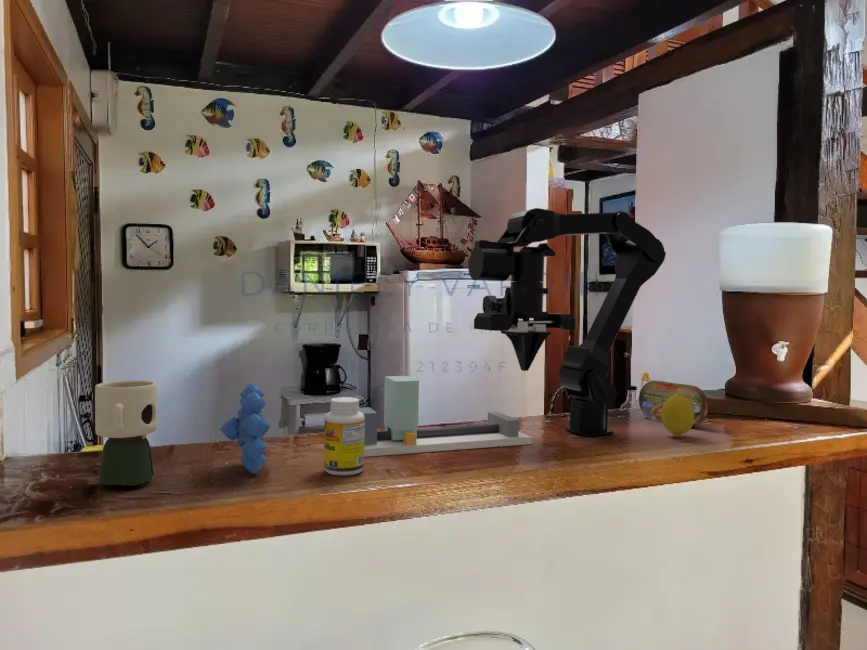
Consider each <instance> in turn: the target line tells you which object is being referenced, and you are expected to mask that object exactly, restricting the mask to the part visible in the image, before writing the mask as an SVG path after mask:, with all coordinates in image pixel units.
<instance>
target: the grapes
mask: <svg viewBox="0 0 867 650" xmlns="http://www.w3.org/2000/svg"><path fill="white" fill-rule="evenodd" d="M239 396H240V397H241V398H240V400H239V402H240V405H241V408H240V409H238V411H237V415H236V416H237V417H235V416H232V417H230V418H228V419H227V420H226V421H225V422H224V423H223V425H221V428H219V429H220V431H221V432H222V434H223V435H224V436H225V437H226V438H227V439H228V440H230V441H235V440H237V446H239V448H240V450H241V451H242V452H243V453H242V454H241V456H240V458H239V459H240V463H241V465H242V466H243V467H244V468H245V470H246V471H247V472H249V473H251V474H255V473H257V472H259V471H260V470H261V468H262V467H264V464H265V463H266V461H267V459H266V458H265V455H264V453H265V451H266V450H267V449H268V447H267V445H266V443H265V442H264V439H263V437H264V436H265V435H266V434H267V433H268V431H269V430H270V428H271V425H270V424H269V423H268V421H267V420H266V419H265V418H264V417H263V415H262V413H263V411H262V410H263V409H264V407H265V406H266V405H267V403H266V401H265V400H264V398H263V397H264V396H265V392H264V391H263V390H262V389H261V387H260V386H259V385H257V384H256V383H253V382H252V383H248V385H246V386H245V388H244V389H243V390H242V391H241V393H240V394H239Z"/></svg>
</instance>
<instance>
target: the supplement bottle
mask: <svg viewBox="0 0 867 650" xmlns="http://www.w3.org/2000/svg"><path fill="white" fill-rule="evenodd" d="M329 406H330V411H329V412H327V413H326V414H325V416H324V455H323V457H324V459H323V460H324V462H323V465H324V466H323V467H324V470H325V472H326V473H328V474H330V475H331V476H332V475H333V476H341V477H342V476H343V477H344V476H345V477H347V476H354V475H357V474H360V473H361V472H362V471H363V470H364V468H365V457H364V432H365V416H364V414H363V413H361V412H359V408H360V399H359V398H355V397H348V396H347V397H346V396H345V397H344V396H343V397H341V396H340V397H333V398H331V399H330V405H329Z"/></svg>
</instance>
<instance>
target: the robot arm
mask: <svg viewBox="0 0 867 650" xmlns="http://www.w3.org/2000/svg"><path fill="white" fill-rule="evenodd" d="M601 234H603V235H604V236H605V237H606V239H607V242H608V245H609V248H610V249H611V251H612V252H613V253H614V254H615V255H616V258H615V262H614V269H615V271H614V272H615V277H614V280H613V281H612V284H611V286H610V287H609V290H608V292H607V293H606V296H605V298H604V300H603V302H602V304H601V306H600V308H599V310H598V313H597V314H596V316H595V319H594V320H593V322H592V324H591V326H590V328H589V331H588V332H587V334H586V336H585V338H584V341H583V342H582V343H580V344H579V345H578V346H574V345H569V346H568V347H567V349H566V351H565V353H564V357H563V358H562V359H561V361H560V362H559V363H558V365H559V366H560V368H559V371H558V377H559V381H560V383H561V385H562V386H563V388H564V391H565V394H566V396H567V397H570V398H572V399H571V407H570V408H569V426H565V427H564V430H565V431H568V432H571V433H575V434H579V435H581V436H585V437H596V436H604V435H611V434H614V430H612V429H608V421H609V419H608V417H609V404H610V403H615V402H616V399H617V396H618V389H616V388H615V386H614V385H613V384H612V382H610V380H609V379H608V378H607V377H608V374H609V371H610V357H609V355H610V351H611V349H612V346H613V344H614V342H615V340H616V338H617V336H618V334H619V331H620V330H621V328H622V325H623V323H624V322H625V320H626V318H627V315H628V313H629V311H630V309H631V307H632V305H633V303H634V301H635V299H636V296H637V295H638V292H639V290H640V289H641V288H642V286H643V285H644V284H645V283H647V281H649V280H650V279H651V278H652V277H653V276H655V275H656V274H657V272H658V271H659V269H660V267H661V266H662V265H663V263H664V262H665V259H666V257H667V256H666V251H665V247H664V244H663V243H662V241H661V240H660V239H659V238H657V237H656V236H655V235H654V234H653V232H651V230H649V229H647V228H645V226H643V225H641V224H639V223H638V222H637V221H635V220H634V219H633V218H632V217H631V216H630V214H628V212H625V211H622V210H618V211H613V212H595V213H594V212H593V213H591V212H590V213H566V214H565V213H560V212H557V211H555V210H551V209H550V210H549V209H544V208H538V207H536V208H535V207H534V208H531V209H527V210H521V211H519V212H514V213H512V214H511V216H510V217H509V219H508V221H507V226H506V229H504V232H503V233H501V236H499V238H498V240H497V241H490V240H485V239H478V240H475V241H474V247H473V249H472V251H471V253H470V255H469V259H468V262H467V268H468V273H469V276H470V278H471V279H472V280H473V281H487V282H490V281H491V282H495V281H496V282H506V281H507V280H508V279H509V278H510V287H507V286H506V287H505V290H504V296H503V297H500V298H499V297H497V296H496V295H486V296H484V297H483V298H482V312H478V313H477V314H476V316H475V317H474V318H473V329H474V330H481V331H483V330H484V331H491V332H492V331H494V332H496V331H499V332H500V333H501V334H502V335H505V336H506V338H508V339H509V341H510V342H511V345H512V347H513V349H514V352H515V355H516V358H517V361H518V365H519V368H520V370H521V371H522V372H528V371H529V369H530V368H531V366H532V364H533V362H534V361H535V358H536V356H537V354H538V353H539V350H540V348H542V345H543V343H544V342H545V341H546V338H547V337H548V336H552V331H547V329H551V328H552V329H553V328H554V329H561V330H566V331H567V330H573V331H574V330H576V322H577V321H576V320H577V319H576V318H575V316H574V314H573V313H562V312H561V313H555V312H554V313H553V312H548V311H544V309H543V308H544V295H545V294H546V295H548V294H549V287H544V284H545V283H544V278H545V258H549V257H556V252H555V251H554V249H553V248H551V247H550V246H549V244H548V243H547V242H545V243H544V241H547V240H552V239H555V238H558V237H561V236H578V235H579V236H581V235H601ZM540 242H541V243H540ZM542 242H543V243H542ZM532 243H539V244H538V245H537V246H529V245H531V244H532ZM516 248H521V249H520V250H519V251H514V250H515V249H516Z"/></svg>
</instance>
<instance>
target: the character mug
mask: <svg viewBox="0 0 867 650" xmlns="http://www.w3.org/2000/svg"><path fill="white" fill-rule="evenodd" d="M94 387H95V388H94V413H95V414H94V415H95V417H94V420H95V421H94V422H95V424H94V425H95V426H94V427H95V429H94V430H95V435H97V436H99V437H102V438H107V439H106V441H105V442H104V444H103V447H102V454H101V460H100V466H99V467H100V468H99V477H98V483H99V484H100V485H104V486H105V485H106V486H121V487H122V488H123V489H125V488H127V487H128V486H131V487H132V486H138V485H143V484H147V483H148V482H149V483H150V482H151V481H153V478H154V477H155V474H154V467H153V457H152V452H151V445H150V442H149V439H148V438H147V435H149V434H151V433H154V432H155V431H156V430H157V427H158V384H157V382H156V381H153V380H152V381H150V380H116V381H108V382H100V383H97V384H95V386H94Z"/></svg>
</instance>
